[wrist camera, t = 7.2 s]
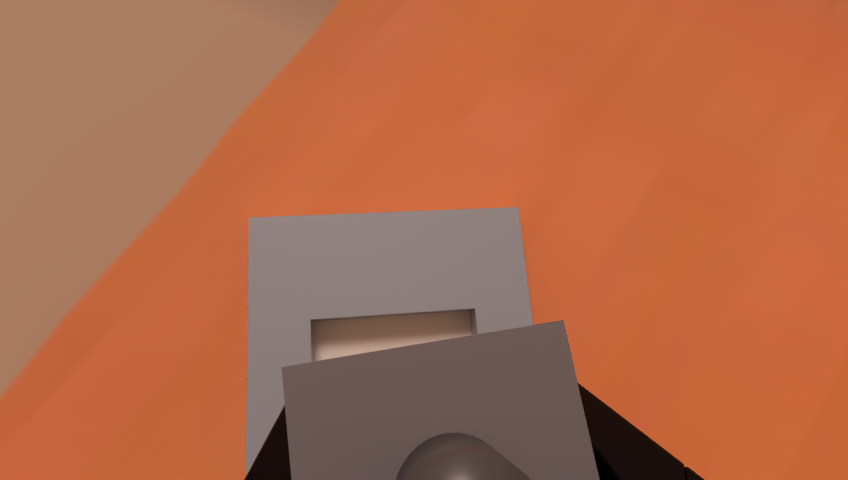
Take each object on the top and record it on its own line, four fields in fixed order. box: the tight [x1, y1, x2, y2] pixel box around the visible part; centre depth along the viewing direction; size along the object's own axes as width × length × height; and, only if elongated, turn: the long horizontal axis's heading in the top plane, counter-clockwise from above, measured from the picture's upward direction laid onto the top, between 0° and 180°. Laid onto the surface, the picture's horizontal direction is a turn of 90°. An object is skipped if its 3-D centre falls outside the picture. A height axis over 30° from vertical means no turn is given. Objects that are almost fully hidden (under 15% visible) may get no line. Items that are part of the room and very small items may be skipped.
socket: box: [246, 207, 533, 476], centre depth 19 cm, size 16×12×2 cm
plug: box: [281, 320, 600, 480], centre depth 11 cm, size 4×4×12 cm
